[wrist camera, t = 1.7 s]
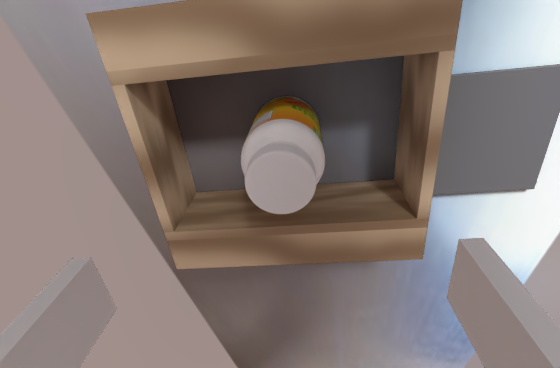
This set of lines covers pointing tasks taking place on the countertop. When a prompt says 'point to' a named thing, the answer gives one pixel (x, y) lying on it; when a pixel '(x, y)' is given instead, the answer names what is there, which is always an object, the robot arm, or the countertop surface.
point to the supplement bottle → (283, 156)
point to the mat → (497, 129)
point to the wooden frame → (273, 55)
